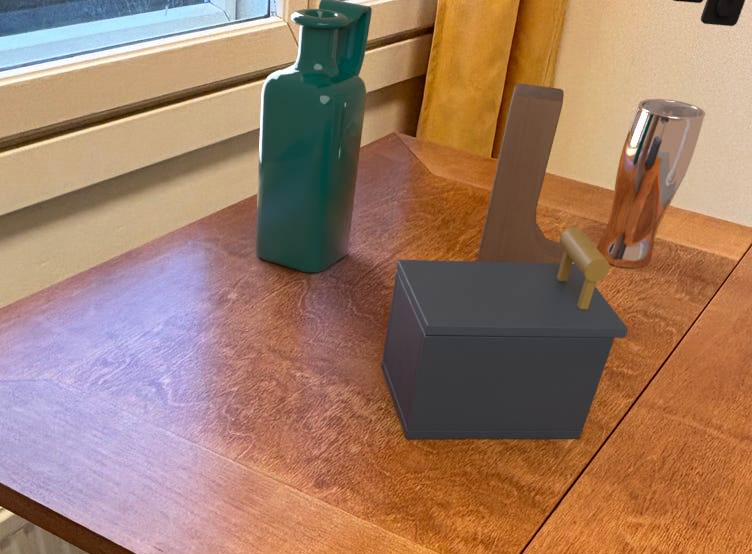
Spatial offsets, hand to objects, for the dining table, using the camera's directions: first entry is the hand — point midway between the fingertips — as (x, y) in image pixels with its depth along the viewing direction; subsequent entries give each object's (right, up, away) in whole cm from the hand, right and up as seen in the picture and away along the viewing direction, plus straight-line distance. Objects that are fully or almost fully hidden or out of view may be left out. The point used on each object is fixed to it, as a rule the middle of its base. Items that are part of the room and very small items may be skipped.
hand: (701, 12), depth 84 cm
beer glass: (-1, -16, +16) cm, 23 cm away
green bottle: (-37, -18, +12) cm, 43 cm away
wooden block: (-15, -23, +8) cm, 29 cm away
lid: (-22, -33, -14) cm, 42 cm away
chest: (-23, -39, -8) cm, 46 cm away
